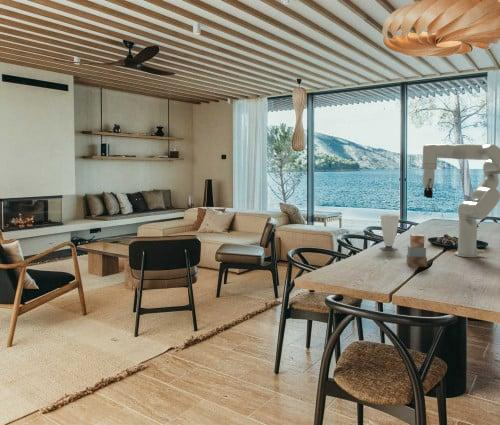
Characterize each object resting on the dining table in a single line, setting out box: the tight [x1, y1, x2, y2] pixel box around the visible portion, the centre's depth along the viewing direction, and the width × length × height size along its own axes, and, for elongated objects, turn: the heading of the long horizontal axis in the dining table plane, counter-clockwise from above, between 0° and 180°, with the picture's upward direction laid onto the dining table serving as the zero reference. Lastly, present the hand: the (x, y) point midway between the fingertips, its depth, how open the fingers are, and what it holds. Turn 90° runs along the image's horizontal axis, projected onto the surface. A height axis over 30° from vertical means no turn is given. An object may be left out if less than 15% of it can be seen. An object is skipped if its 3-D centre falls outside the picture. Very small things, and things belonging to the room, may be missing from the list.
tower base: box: [406, 253, 428, 268], centre depth 238 cm, size 9×9×5 cm
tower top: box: [407, 244, 427, 257], centre depth 237 cm, size 8×8×5 cm
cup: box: [379, 213, 400, 252], centre depth 281 cm, size 12×12×22 cm
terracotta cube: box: [409, 233, 426, 248], centre depth 236 cm, size 6×6×6 cm
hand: (428, 197), depth 254 cm, fingers open, 9 cm apart
